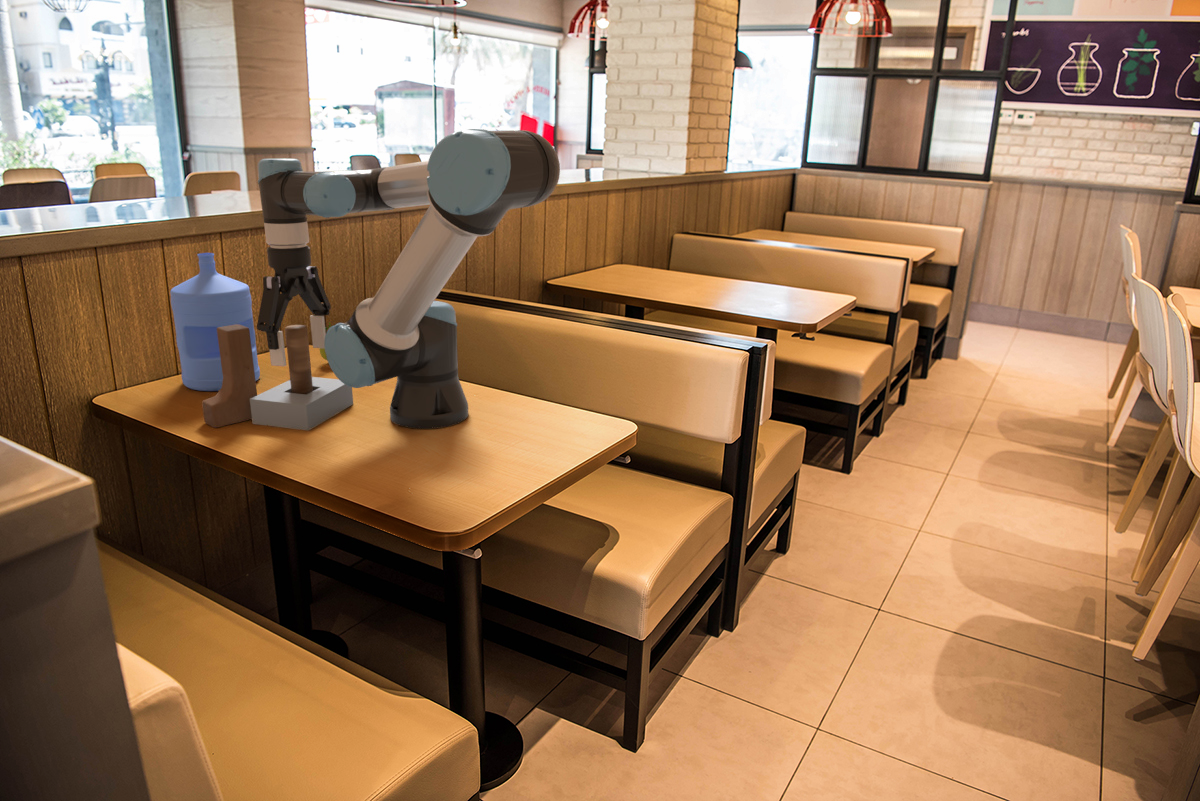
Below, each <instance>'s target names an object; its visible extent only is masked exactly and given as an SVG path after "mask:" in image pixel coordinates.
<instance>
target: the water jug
mask: <svg viewBox="0 0 1200 801" xmlns="http://www.w3.org/2000/svg"><path fill="white" fill-rule="evenodd" d="M196 256H197V257H198V265H199V272H198V274H197V275H194V276H193V277H191V278H189V279H187V280H185V281H183V282H181V283H179V284H178V285H176V286H173V287H172V288H171V289H170V292H169V294H170V305H171V310H172V314H173V320H174V327H175V334H176V335H175V338H176V340H175V341H176V345H177V349H178V353H179V360H180V368H181V380H182V384H183V385H184V386H185V387H186V388H188V389H191V390H194V391H199V392H201V391H202V392H219V390H220V389H221V388H222V382H223V373H222V366H221V358H220V351H219V343H218V336H217V328H218V327H223V326H229V325H235V324H240V325H242V326H245V327H248V328H249V331H250V339H251V348H252V356H253V364H254V373H255V381H256V382H257V381H258V380H259V379H260V376H261V373H260V372H261V369H260V366H259V361H258V359H259V358H258V352H257V350H258V349H257V342H256V339H257V338H256V330H255V326H254V318H253V317H254V316H253V309H252V308H253V307H252V305H253V303H252V295H251V292H250V286H249V285H248V284H247V283H244V282H242V281H239V280H236V279H234V278H231V277H229V276H226V275H223V274H221V273H218V272H217V270H216V261H215V258H214V256H215V253H213V252H201V253H197V255H196Z"/></svg>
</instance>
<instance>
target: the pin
mask: <svg viewBox="0 0 1200 801" xmlns="http://www.w3.org/2000/svg"><path fill="white" fill-rule="evenodd" d="M284 332H285V341H286V351H287V360H288V361H287V362H288V371H289V380H290V383H291V392H292V393H297V394H306V395H307V394H308V393H310V392H312V391H313V384H312V377H313V376H312V367H311V356H310V355H311V353H310V345H309V344H310V342H309V335H308V333H309V332H308V326H307V325H306V324H305V325H303V324H291V325H287V326H285V327H284Z"/></svg>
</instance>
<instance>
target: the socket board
mask: <svg viewBox="0 0 1200 801" xmlns="http://www.w3.org/2000/svg"><path fill="white" fill-rule="evenodd" d="M312 384H313V391H312V392H310V393H308V394H307V395H306V394H297V393H292V392H291V383H290V379H289V380H287V381H285V382H283V383H281V384H277V385H276V386H274V387H271V388H269V389H268V390H265V391H263V392H261V393H259V394H257V396H255V397H253V398H251V399H250V406H251V414H252V419H251V420H252V425H260V426H267V425H268V427H277V428H283V429H284V428H285V429H294V430H300V429H301V430H303V431H310V430H312V429H313V428H315V427H317V426H318V425H320V424H322V423H324V422H325V421H328V420H329V419H331V418H333V417H334V416H336V415H337V414H339V413H341V412H342V411H344V410H345V409H347V408H349V407H350V406H352V405H354V395H353V387H349V386H347V385H345V384H344V383H342V382H341V381H340V380H339V379H338V378H327V377H318V376H316V377H315V376H312ZM301 430H300V431H301Z"/></svg>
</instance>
